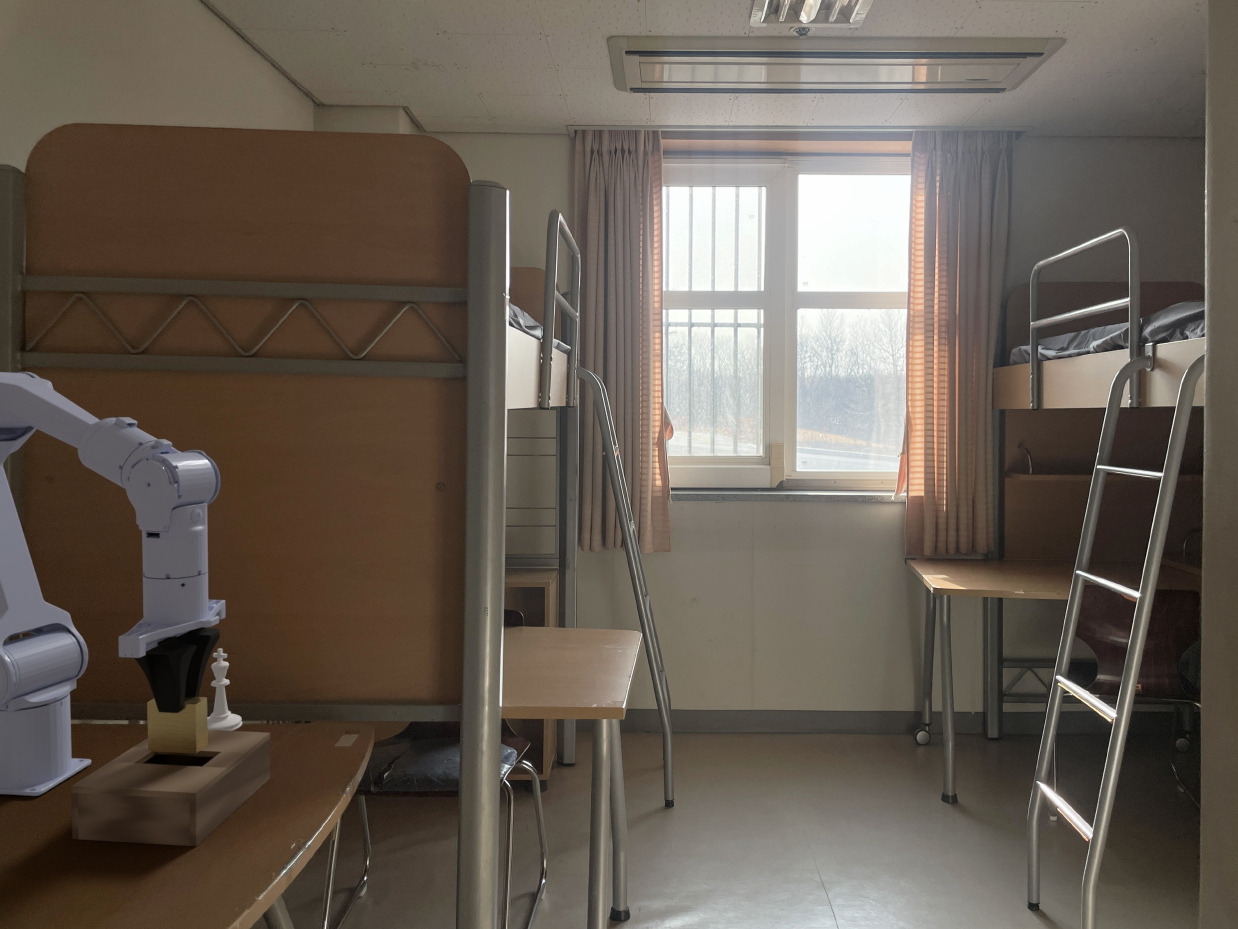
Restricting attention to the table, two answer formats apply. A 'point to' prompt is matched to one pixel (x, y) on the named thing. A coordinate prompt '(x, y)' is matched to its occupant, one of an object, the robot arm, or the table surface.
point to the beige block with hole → (170, 791)
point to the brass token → (178, 727)
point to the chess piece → (221, 698)
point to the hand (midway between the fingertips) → (177, 706)
